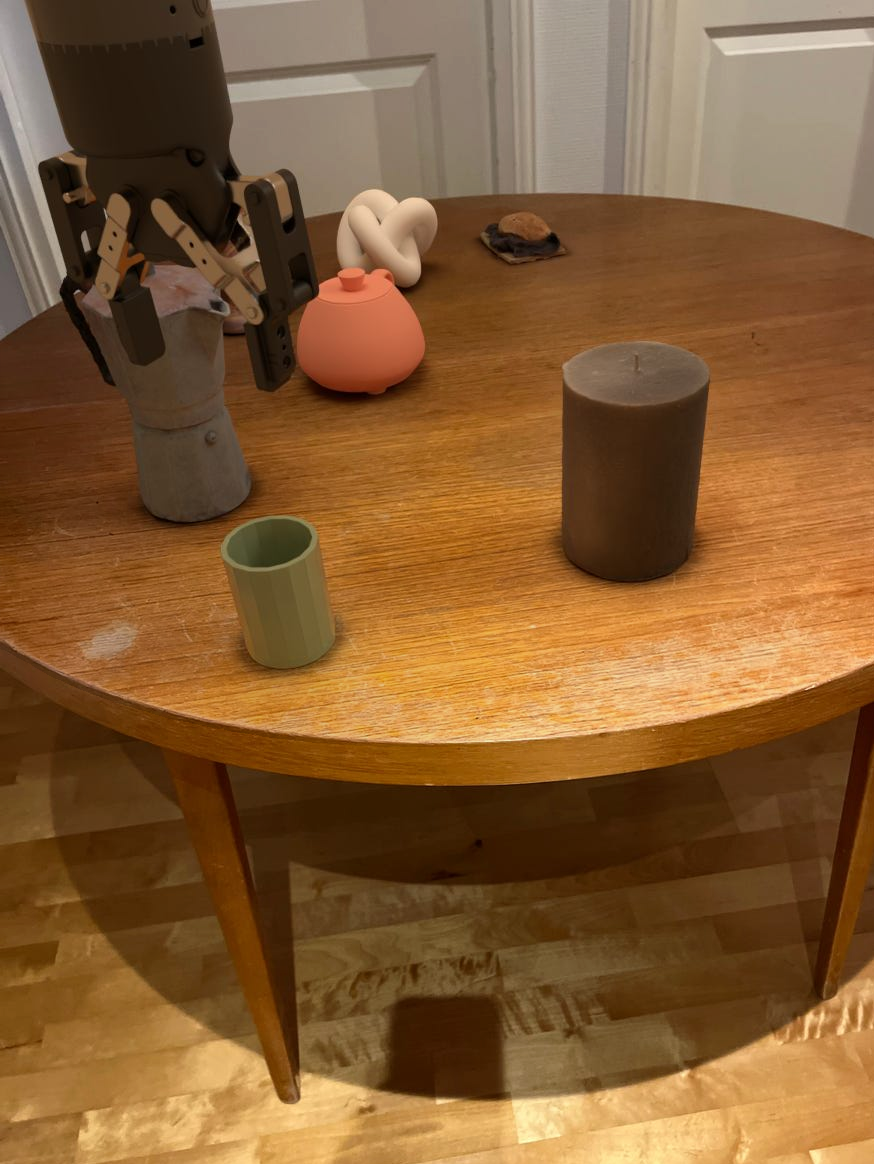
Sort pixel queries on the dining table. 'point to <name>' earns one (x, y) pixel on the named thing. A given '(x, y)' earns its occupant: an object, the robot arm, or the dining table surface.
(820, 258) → the dining table surface
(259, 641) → the cup
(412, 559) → the dining table surface
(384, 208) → the cream knot sculpture
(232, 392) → the dining table surface
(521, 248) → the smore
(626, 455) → the pillar candle
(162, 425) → the moka pot
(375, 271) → the sugar bowl
